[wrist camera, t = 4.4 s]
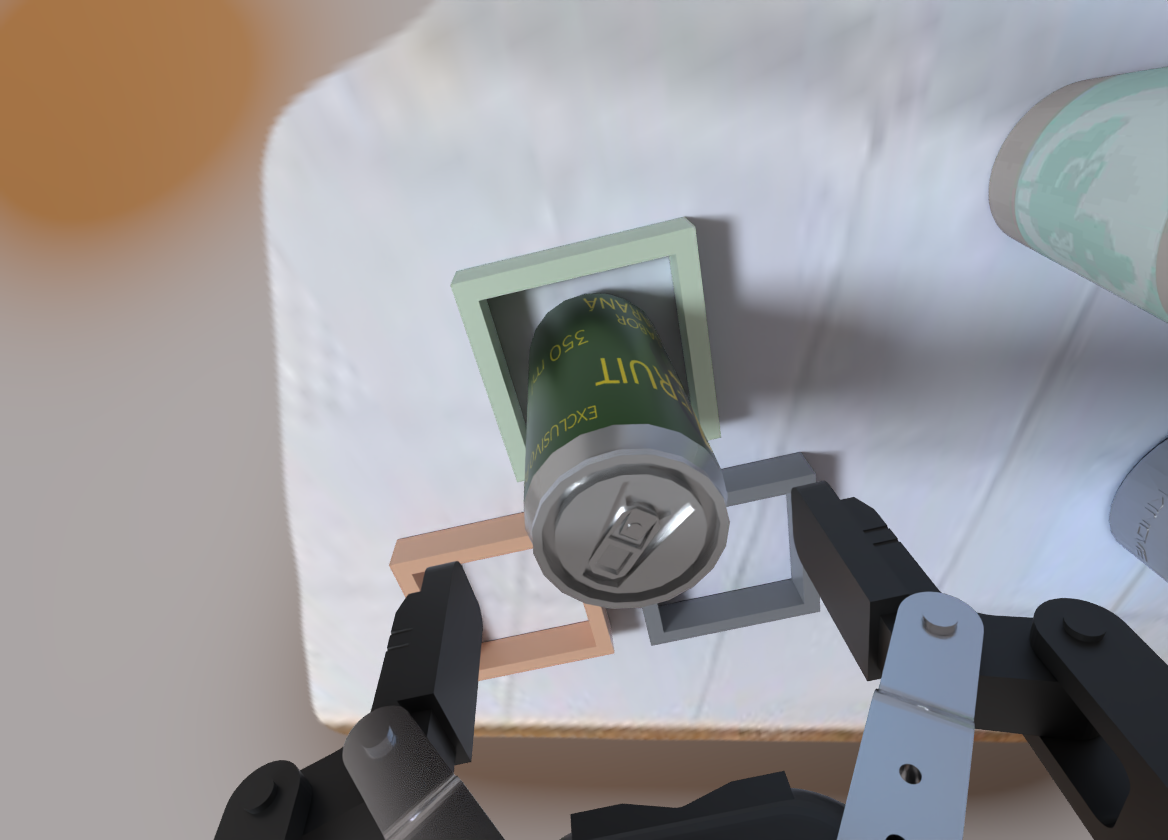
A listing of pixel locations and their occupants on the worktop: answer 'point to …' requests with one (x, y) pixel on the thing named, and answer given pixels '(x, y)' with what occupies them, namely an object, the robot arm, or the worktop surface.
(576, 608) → the worktop surface
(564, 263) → the sage frame
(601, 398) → the beer can
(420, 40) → the worktop surface
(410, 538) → the terracotta frame
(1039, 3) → the worktop surface
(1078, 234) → the coffee cup
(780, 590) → the charcoal frame
